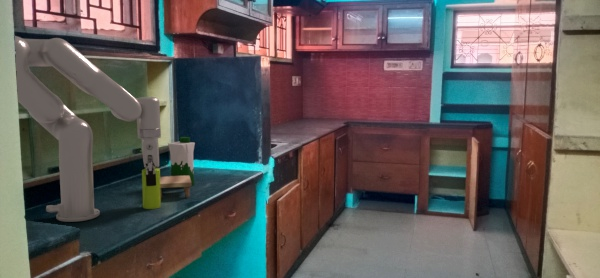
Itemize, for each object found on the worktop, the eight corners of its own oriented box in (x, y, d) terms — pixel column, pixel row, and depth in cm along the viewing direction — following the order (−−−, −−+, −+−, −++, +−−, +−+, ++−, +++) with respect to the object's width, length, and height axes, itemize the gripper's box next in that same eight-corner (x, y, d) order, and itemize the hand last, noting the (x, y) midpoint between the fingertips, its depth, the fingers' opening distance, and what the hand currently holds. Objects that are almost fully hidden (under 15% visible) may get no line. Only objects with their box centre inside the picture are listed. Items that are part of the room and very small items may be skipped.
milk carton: (197, 184, 199) (196, 137, 197) (182, 189, 191) (181, 139, 189) (181, 182, 203) (180, 136, 201) (166, 186, 195) (165, 138, 193)
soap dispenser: (149, 203, 169) (147, 147, 167) (164, 205, 166) (163, 149, 164) (136, 207, 164) (135, 150, 162) (152, 210, 161) (150, 151, 159)
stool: (155, 200, 174) (155, 184, 173) (155, 191, 186) (155, 176, 185) (191, 198, 177) (191, 182, 177) (189, 190, 190) (189, 175, 189)
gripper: (160, 136, 155) (163, 187, 157) (160, 130, 171) (162, 176, 174) (136, 137, 153) (139, 189, 155) (138, 130, 169) (140, 178, 172)
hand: (151, 182), depth 164 cm, fingers open, 9 cm apart
